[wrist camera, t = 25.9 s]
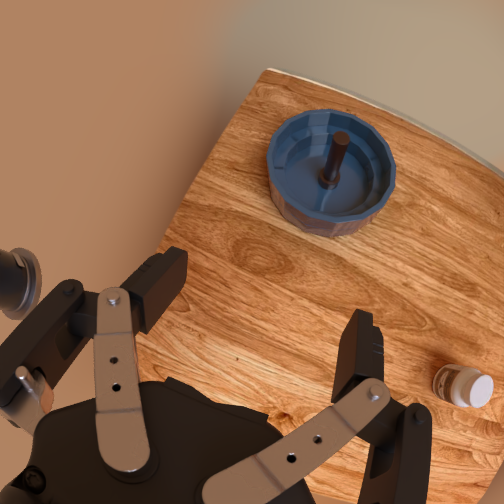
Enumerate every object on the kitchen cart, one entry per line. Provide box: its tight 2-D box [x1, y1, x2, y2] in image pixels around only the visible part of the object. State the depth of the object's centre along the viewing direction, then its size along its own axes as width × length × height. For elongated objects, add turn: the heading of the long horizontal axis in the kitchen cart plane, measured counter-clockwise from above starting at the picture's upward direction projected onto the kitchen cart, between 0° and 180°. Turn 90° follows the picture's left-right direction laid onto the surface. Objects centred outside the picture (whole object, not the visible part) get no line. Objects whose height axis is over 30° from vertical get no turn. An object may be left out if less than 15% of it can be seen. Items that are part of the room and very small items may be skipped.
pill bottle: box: [433, 364, 493, 408], centre depth 24 cm, size 4×4×8 cm
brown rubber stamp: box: [318, 131, 350, 190], centre depth 29 cm, size 2×2×9 cm
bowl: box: [266, 109, 396, 237], centre depth 32 cm, size 14×14×6 cm
